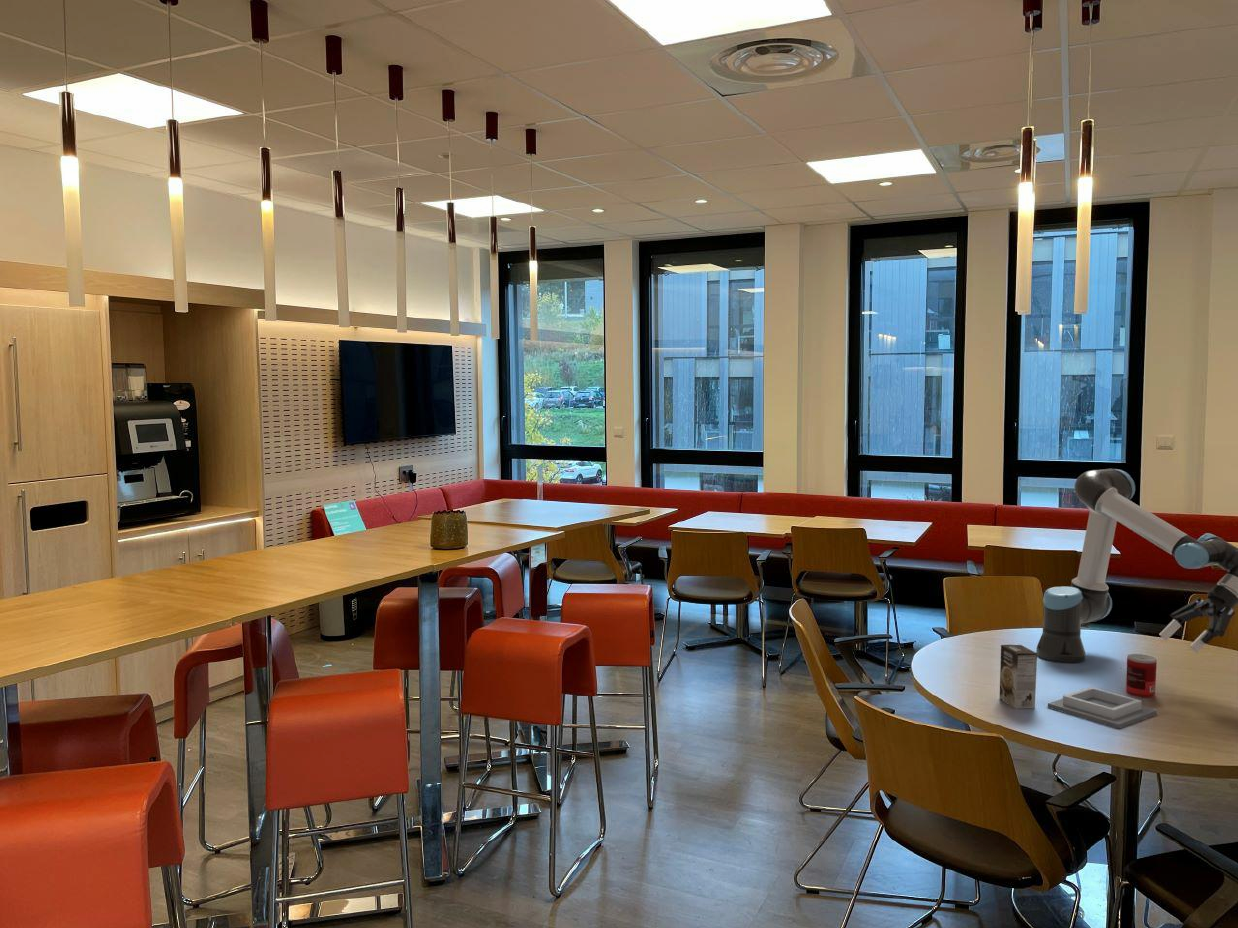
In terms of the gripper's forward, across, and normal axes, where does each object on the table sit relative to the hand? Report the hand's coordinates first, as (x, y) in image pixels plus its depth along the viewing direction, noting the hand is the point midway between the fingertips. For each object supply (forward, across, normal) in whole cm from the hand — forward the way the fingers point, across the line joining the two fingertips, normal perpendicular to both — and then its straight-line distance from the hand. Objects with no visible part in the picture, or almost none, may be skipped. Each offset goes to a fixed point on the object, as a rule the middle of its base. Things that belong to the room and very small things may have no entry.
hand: (1177, 643), depth 269 cm
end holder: (+33, -14, +12) cm, 38 cm away
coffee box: (+48, -6, +26) cm, 55 cm away
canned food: (+18, 0, -3) cm, 19 cm away
